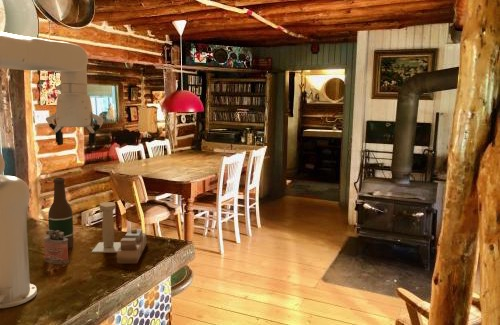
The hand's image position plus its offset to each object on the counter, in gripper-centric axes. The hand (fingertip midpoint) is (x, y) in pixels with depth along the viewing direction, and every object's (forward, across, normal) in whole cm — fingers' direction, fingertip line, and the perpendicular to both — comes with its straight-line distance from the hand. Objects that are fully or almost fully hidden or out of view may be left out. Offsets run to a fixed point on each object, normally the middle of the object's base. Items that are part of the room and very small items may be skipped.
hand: (76, 145), depth 132 cm
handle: (+36, +8, +6) cm, 37 cm away
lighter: (+36, -5, -6) cm, 37 cm away
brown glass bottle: (+36, -8, +7) cm, 38 cm away
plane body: (+36, +17, +1) cm, 40 cm away
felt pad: (+36, +8, +6) cm, 37 cm away
